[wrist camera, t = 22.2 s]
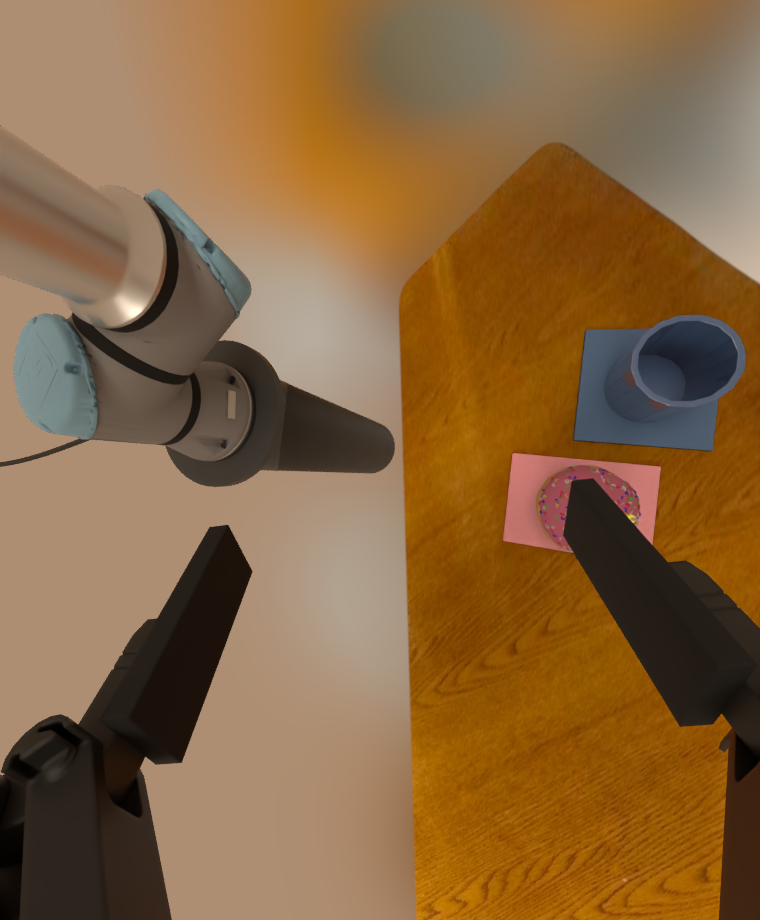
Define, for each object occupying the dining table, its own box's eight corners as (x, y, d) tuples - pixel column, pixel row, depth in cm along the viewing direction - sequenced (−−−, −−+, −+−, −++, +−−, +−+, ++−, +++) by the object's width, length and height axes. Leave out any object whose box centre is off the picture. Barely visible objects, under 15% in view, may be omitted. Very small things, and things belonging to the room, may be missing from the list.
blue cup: (599, 420, 38) (626, 404, 30) (607, 352, 38) (636, 316, 30) (684, 425, 36) (740, 409, 27) (692, 352, 36) (750, 313, 27)
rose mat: (502, 540, 41) (502, 540, 40) (512, 453, 41) (512, 452, 40) (648, 565, 36) (650, 566, 36) (659, 466, 36) (660, 466, 36)
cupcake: (622, 466, 37) (674, 461, 26) (624, 549, 36) (678, 582, 25) (532, 466, 40) (542, 462, 28) (533, 544, 39) (544, 571, 28)
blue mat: (573, 440, 39) (573, 439, 38) (585, 331, 39) (585, 329, 39) (710, 450, 35) (712, 450, 34) (723, 329, 35) (725, 327, 35)
